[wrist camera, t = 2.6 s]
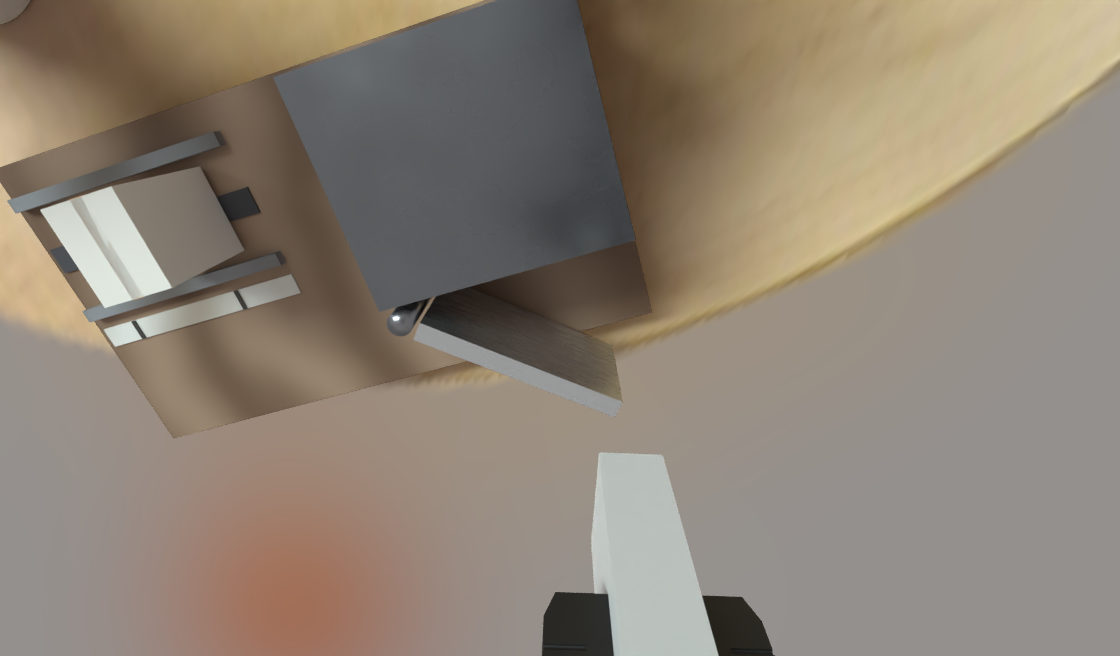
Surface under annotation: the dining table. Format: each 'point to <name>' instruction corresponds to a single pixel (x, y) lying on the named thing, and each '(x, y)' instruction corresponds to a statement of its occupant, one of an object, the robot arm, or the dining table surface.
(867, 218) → the dining table surface
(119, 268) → the fader knob
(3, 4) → the coffee cup
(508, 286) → the console
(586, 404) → the door
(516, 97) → the open box
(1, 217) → the dining table surface
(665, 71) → the dining table surface
